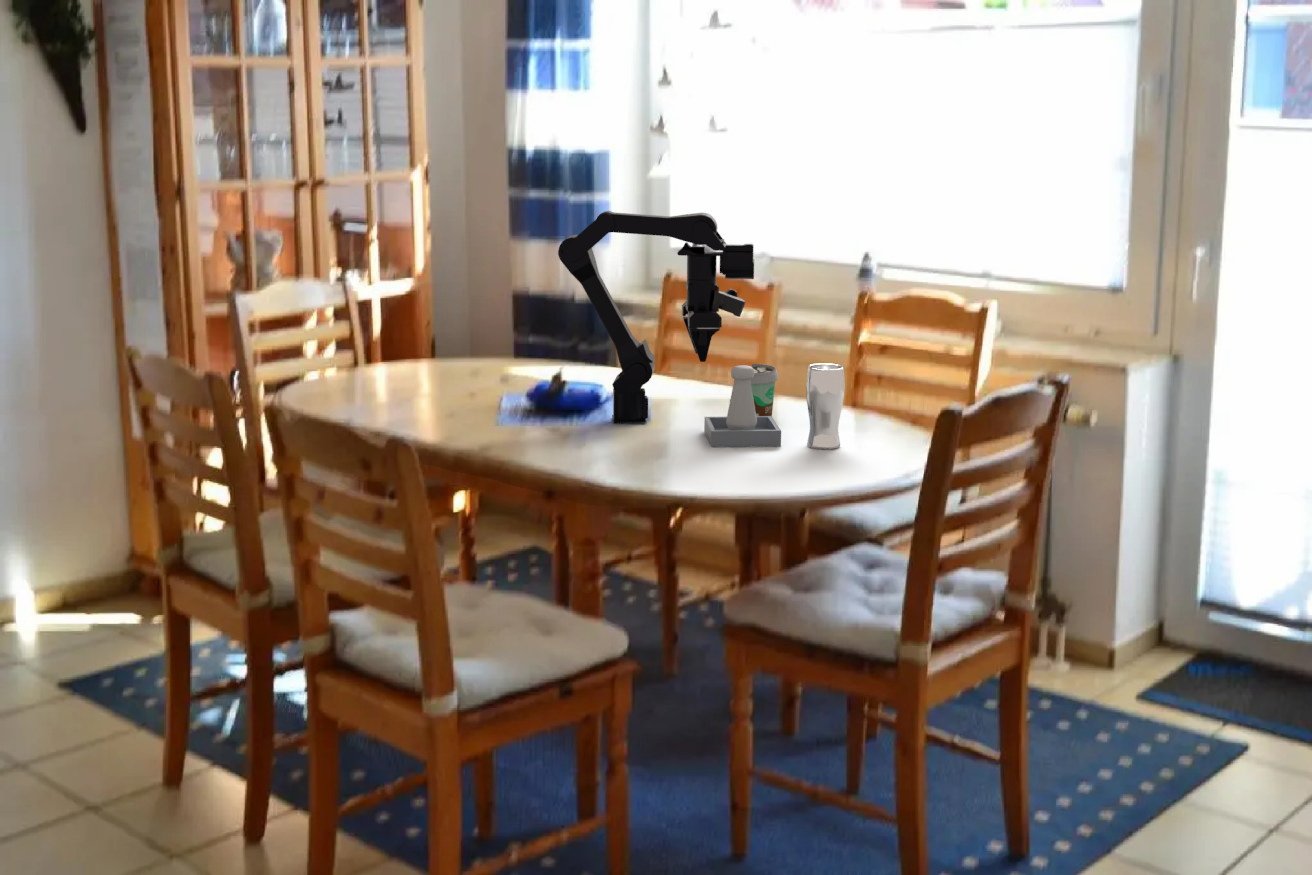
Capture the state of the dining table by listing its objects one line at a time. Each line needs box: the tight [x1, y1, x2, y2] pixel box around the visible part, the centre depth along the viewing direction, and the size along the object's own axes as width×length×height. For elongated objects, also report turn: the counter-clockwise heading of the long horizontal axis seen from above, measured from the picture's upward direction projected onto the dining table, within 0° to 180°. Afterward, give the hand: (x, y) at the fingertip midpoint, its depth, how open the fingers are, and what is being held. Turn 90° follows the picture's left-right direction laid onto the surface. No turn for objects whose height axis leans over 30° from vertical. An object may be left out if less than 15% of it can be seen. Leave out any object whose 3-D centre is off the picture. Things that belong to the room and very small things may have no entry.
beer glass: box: [805, 363, 845, 451], centre depth 289 cm, size 7×7×15 cm
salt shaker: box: [726, 364, 757, 430], centre depth 295 cm, size 6×6×13 cm
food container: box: [751, 362, 780, 417], centre depth 315 cm, size 12×6×10 cm, turn 168°
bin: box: [703, 415, 782, 448], centre depth 296 cm, size 13×13×3 cm
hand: (700, 357), depth 308 cm, fingers open, 9 cm apart
